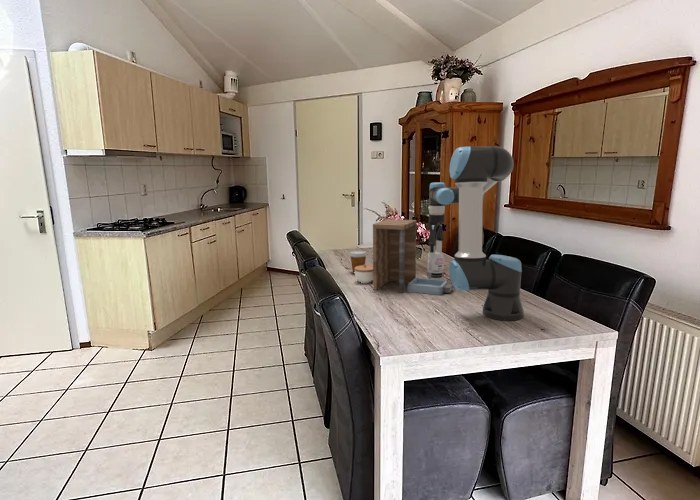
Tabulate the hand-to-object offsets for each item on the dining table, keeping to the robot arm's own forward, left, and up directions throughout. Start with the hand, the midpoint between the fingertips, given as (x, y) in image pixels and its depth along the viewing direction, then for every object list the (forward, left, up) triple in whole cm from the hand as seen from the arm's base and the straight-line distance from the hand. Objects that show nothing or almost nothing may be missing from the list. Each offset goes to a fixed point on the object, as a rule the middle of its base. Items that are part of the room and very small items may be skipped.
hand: (435, 255), depth 207 cm
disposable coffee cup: (+2, +44, -14) cm, 46 cm away
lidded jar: (-14, +33, -14) cm, 38 cm away
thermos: (+18, -16, -14) cm, 28 cm away
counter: (-16, +16, -14) cm, 26 cm away
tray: (-16, -2, -13) cm, 21 cm away
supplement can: (0, 0, -14) cm, 14 cm away
